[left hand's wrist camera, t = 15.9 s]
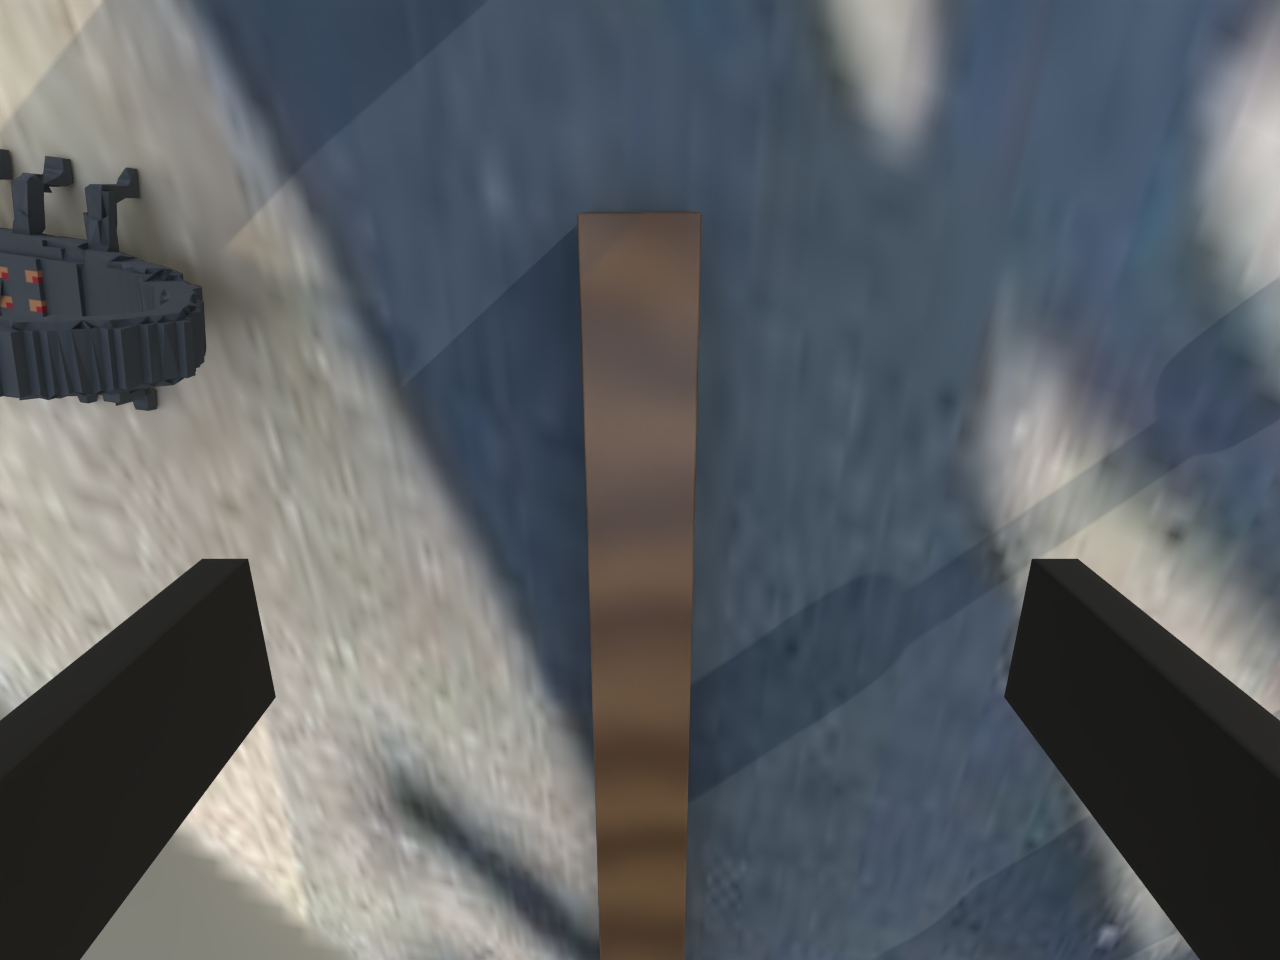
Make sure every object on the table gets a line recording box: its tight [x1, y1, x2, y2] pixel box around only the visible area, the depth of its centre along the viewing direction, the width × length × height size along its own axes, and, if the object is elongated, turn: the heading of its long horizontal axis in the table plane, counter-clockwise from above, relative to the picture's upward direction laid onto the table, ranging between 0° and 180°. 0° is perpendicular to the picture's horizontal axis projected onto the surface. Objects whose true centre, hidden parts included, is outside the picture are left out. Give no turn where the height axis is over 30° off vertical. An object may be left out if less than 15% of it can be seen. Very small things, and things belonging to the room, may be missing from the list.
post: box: [578, 212, 701, 960], centre depth 47 cm, size 59×6×8 cm, turn 0°
